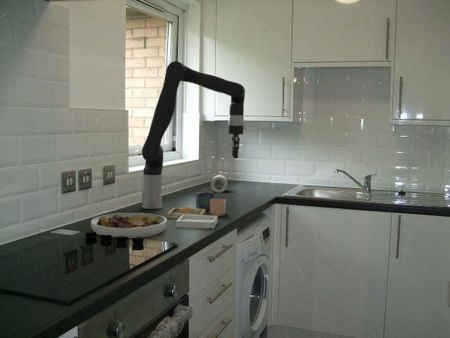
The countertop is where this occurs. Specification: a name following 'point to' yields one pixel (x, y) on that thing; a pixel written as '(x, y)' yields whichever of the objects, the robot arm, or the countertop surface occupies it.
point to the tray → (197, 221)
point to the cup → (217, 207)
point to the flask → (204, 199)
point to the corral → (178, 211)
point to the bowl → (129, 225)
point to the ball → (186, 210)
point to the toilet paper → (219, 189)
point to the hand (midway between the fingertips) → (234, 157)
